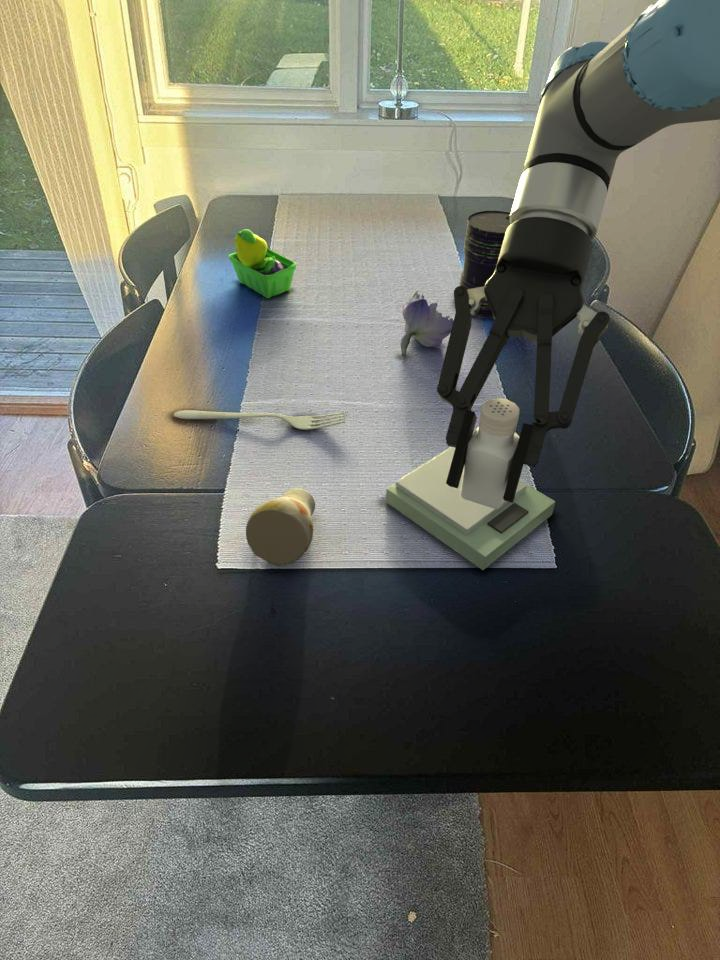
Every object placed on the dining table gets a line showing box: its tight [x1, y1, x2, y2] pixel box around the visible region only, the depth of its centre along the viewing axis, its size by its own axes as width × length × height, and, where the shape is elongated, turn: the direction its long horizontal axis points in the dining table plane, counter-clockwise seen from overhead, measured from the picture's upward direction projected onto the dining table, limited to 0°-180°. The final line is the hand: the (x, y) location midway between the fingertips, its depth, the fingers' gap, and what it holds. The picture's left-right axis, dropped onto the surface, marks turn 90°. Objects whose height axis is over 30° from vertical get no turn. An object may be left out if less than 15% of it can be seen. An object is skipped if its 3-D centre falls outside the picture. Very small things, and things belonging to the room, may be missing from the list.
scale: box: [385, 446, 556, 571], centre depth 83 cm, size 15×13×3 cm
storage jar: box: [458, 210, 511, 319], centre depth 119 cm, size 10×10×15 cm
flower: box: [400, 289, 454, 357], centre depth 110 cm, size 9×9×10 cm
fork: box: [173, 409, 349, 431], centre depth 96 cm, size 3×24×2 cm, turn 84°
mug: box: [245, 487, 316, 566], centre depth 77 cm, size 8×10×10 cm
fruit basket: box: [228, 228, 298, 299], centre depth 124 cm, size 11×9×11 cm
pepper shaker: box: [461, 397, 520, 509], centre depth 61 cm, size 4×4×10 cm
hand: (479, 492), depth 60 cm, fingers closed on pepper shaker, 4 cm apart
